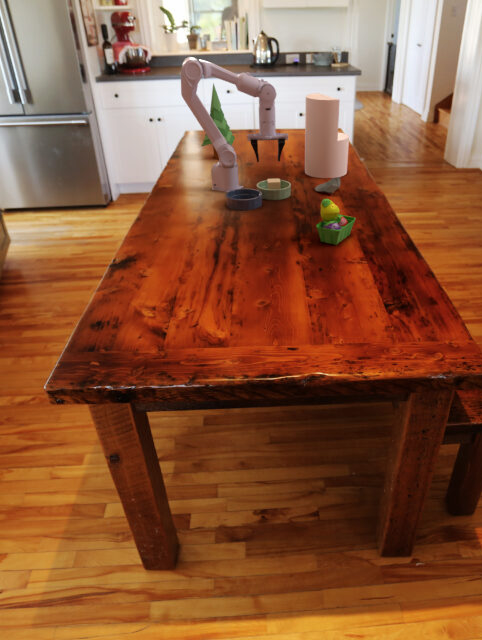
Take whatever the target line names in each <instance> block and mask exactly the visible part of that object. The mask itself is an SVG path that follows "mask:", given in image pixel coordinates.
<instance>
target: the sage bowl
mask: <svg viewBox="0 0 482 640" xmlns="http://www.w3.org/2000/svg"><path fill="white" fill-rule="evenodd" d="M280 187H281V189H276V190H270V189H268V180H267V179H266V180H261V181H259V182H257V183H256V190H259V191H260V192H261V193H262V200H267V201H280V200H285V199H288V198H290V197H291V196H292V183H291V182H289V181H287V180H284V179H280Z"/></svg>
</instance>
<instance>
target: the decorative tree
mask: <svg viewBox="0 0 482 640" xmlns="http://www.w3.org/2000/svg"><path fill="white" fill-rule="evenodd" d="M209 115H210V116H211V118H212V120H213V121H214V123H215V124H216V126H217V128H218V129H219V131H220V132H221V134H222V135H223V137H224V138H225V140H226V141H227V142H228V143H229V144H231V145H232V146H233V144H234V142H235V139H236V136H235V135H233V132H232V130H231V126H230V125H229V124H228V121H227V119H226V118H225V113H224V111H223V109H222V103H221V101H220V98H219V95H218V92H217V89H216V87H215V84H214V83H212V93H211V99H210V110H209ZM208 145H212V148H213V158H214V159H216V160H219V156H218V154H217V151H216V150H215V148H214V146H213V144H212V142H211V141H210V139H209V138H208V136H207V135H206V133H205V134H204V137H203V140H202V144H201V147H204V146H208Z"/></svg>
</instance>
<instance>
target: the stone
mask: <svg viewBox="0 0 482 640" xmlns="http://www.w3.org/2000/svg"><path fill="white" fill-rule="evenodd" d="M340 187H341V177H336V178H330V180H327V181H326V182H323V183H320V184H317V186H315V187H314V190H315V192H318V193H322V194H329V195H333V194H334V193H335V192H336V191H338V190H339V188H340Z"/></svg>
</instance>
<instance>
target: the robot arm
mask: <svg viewBox="0 0 482 640" xmlns="http://www.w3.org/2000/svg"><path fill="white" fill-rule="evenodd" d="M202 77H203V78H204V79H208V78H211V77H213V78H215V79H218V80H222V81H223V82H226V83H229V84H232V85H234V86H235V87H236V89H237V91H238V92H240V93H243V94H246V95H248V96H250V97H253V98H258V127H259V129H258V130H259V131H258V133H248V134H246V137H247V142H250V145H251V147H252V149H253V152H254V155H255V158H256V163H260V156H259V142H258V141H277V162H281V158H282V157H281V156H282V152H283V149H284V147H285V145H286V141H289V134H288V133H285V132H284V133H282V132H277V131H276V129H277V128H276V101H275V100H276V98H277V91H276V88H275V87H274V86H273V84H271V83H270V82H268V81H266V80H265V79H264V78H257V77H255V76H253V75H252V74H251V72H248V71H246V72H241V73H239V74H237V73H235V72H233V71H231V70H228V69H226V68H224V67H222V66H219V65H218V64H216V63H213V62H210V61H207V60H204V59H197V58H196V57H193V56H188V57H187V58H185V59H184V60H183V61H182V65H181V67H180V94H181V97H182V99H183V101H184V102H185V104H186V105H187V107H188V108H189V110H190V111H191V113H192V115H193V116H194V117H195V120H196V121H197V122H198V124H199V125H200V127H201V128H202V130H203V132H204V133H205V134H206V135H207V136H208V138H209V139H210V141H211V142H212V144H211V145H212V147H213V146H214V148H215V150H216V151H217V154H218V156H219V159H218V160H219V161H218V162H217V163H213V165H212V167H211V169H210V171H211V173H210V174H211V185H212V186H211V187H212V188H211V190H213V191H218V192H226V193H227V192H229V191H231V190H235V189H243V188H244V185H240V181H239V179H240V178H239V167H238V165H239V164H238V162H237V160H238V156H237V153H236V150H235V148H234V146H233V144H232V145H231V144H229V143H228V142H227V141H226V140H225V138H224V137H223V135H222V134H221V132H220V131H219V129H218V128H217V126H216V124H215V123H214V121H213V120H212V118H211V116H210V112H209V111H208V110H207V108H206V106H205V105H204V104H203V101H202V100H201V98H200V97H199V95H198V94H197V91H198V86H199V83H200V81H201V79H202ZM206 135H205V136H206Z"/></svg>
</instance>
